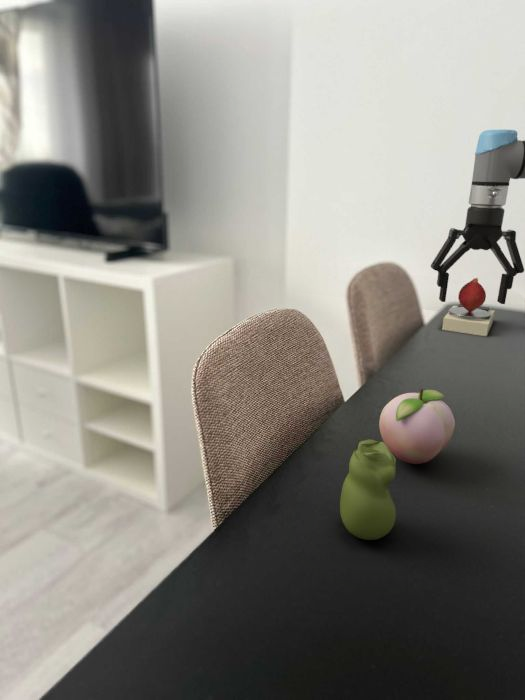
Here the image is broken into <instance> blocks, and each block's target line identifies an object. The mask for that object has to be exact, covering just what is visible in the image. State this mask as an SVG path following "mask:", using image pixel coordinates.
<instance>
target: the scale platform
mask: <svg viewBox="0 0 525 700" xmlns="http://www.w3.org/2000/svg"><path fill="white" fill-rule="evenodd" d="M448 312H449V314H450V315H451V316H454V317H457V318H461V319H466V320H487V319H490V317H491V313H489V312H488V311H485V310H482V309H475V310H474V311H472V312H469V311H467V310H466V309H465V308H464V307H454V308H452V307H449V309H448Z"/></svg>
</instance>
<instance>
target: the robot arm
mask: <svg viewBox="0 0 525 700" xmlns="http://www.w3.org/2000/svg"><path fill="white" fill-rule="evenodd" d="M511 179H512V180H519V179H525V139H524V140H519V138H518V131H517V130H515V129H502V128H501V129H499V128H498V129H486V130H483V131H482V132H481V133H480V134H479V135H478V139H477V144H476V149H475V152H474V164H473V172H472V178H471V185H470V192H469V197H468V204H469V205H470V206H469V207H468V208H467V211H466V216H465V224H464V228H463V229H457V228H455V227H451V228H450V229H449V232H448V235H447V238H446V240H445V242H444V243H443V245H442V247H441V248H440V250H439V251H438V252H437V254H436V256H435V257H434V259H433V260H432V262H431V264H430V268H431V269H432V270H434V271H436V272H437V279H436V285H437V287H439V296H438V300H439V301H440V302H441V303H446V300H447V291H448V286H449V279H450V273H448V272H447V271H449V270H450V269H451V268H452V266H454V265H455V263H457V261H459V260H460V259H461V258H462V257H463V256H464V254H466V253H467V252H468V251H470V250H471V249H472V250H474V251H479V250H483V251H489V250H490V251H491V252H492V253H493V255H494V256H495V258H496V260H497V261H498V263H499V264H500V265H501V267H502V269H503V270H504V271H505V273H501V277H500V283H499V284H500V285H499V290H498V295H497V302H498V303H499V304H500V305H505V304H506V299H507V295H508V290H511V289H512V288H513V285H514V284H513V282H514V279H515V277H516V276H517V275H518V274H523V273H524V272H525V268H524V265H523V262H522V258H521V255H520V251H519V248H518V245H517V242H516V241H517V240H516V239H517V232H516V230H514V229H507V230H503V229H502V226H503V222H504V217H505V208H503V206H505V205H506V203H507V198H508V193H509V186H510V180H511ZM461 236H462V237H463V240H464V241H463V242H462V243H461V244H460V245H459V246H458V248H456V249H455V251H454V252H453V253H451V255H450V256H449V257H447V255H448V254H449V253H450V252H451V250H452V248H453V246H454V245H455V243H456V241H457V240H459V239H460V237H461ZM501 238H503V240H504V241H505V244H506V246H507V250H508V254H509V256H510V260H511V262H510V261H509V260H508V258H507V257H506V255H505V254H504V252H503V250H502V248H501V247H500V245H499V243H498V241H500V240H501ZM446 257H447V259H446ZM511 263H512V264H511Z"/></svg>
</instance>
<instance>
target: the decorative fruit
mask: <svg viewBox="0 0 525 700" xmlns="http://www.w3.org/2000/svg"><path fill="white" fill-rule="evenodd" d="M443 399H446V397H445V395H444V394H443V393H441V392H439V391H438V390H434V389H425V390H424V389H423V388H420V389H419V392H406V393H403V394H400V395H397V396H395V397H394V398H393V399H391V400H390V401H388V403H387V404H386V405H385V406H384V407H383V408H382V410H381V413H380V416H379V422H378V423H379V424H378V427H379V432H380V436H381V439H382V442H384V443H385V445H386V446H387V447H388V449H389V450H390V452H391V453H392V455H393V456H394V457H395V458H397V459H398V460H400V461H402V462H404V463H408V464H411V465H421V464H424V463H428V462H429V461H432V460H433V459H434V458H435V457H436V456H437V455H438V454H439V453H440V452H441V451H443V450H444V449H445V448H446V446H447V445H448V444H449V442H450V440H451V438H452V436H453V434H454V431H455V427H456V421H455V417H454V414H453V412H452V410H451V408H450V407H449V406H448V405H447V403H445V402H444V401H443Z"/></svg>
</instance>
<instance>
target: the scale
mask: <svg viewBox="0 0 525 700" xmlns="http://www.w3.org/2000/svg"><path fill="white" fill-rule="evenodd" d="M454 307H463V306H462V305H461V304H460V303H459V304H458V305H452V307H451V308H454ZM477 309H482V310H485V311H488V312H489V313H491V317H490V319H487V320H466V319H461V318H457V317H454V316H451V315H450V314H449V311H448V312H447V313H446V314H445V316H443V320H442V327H441V330H443V331H448V332H455V333H463V334H469V335H475V336H481V337H488V334H489V332H490V329H491V327H492V325H493V323H494V317H495V313H496V311H495V310H494V309H490V307H489V306H488V307H487V306H480V307H478V308H477Z"/></svg>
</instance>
